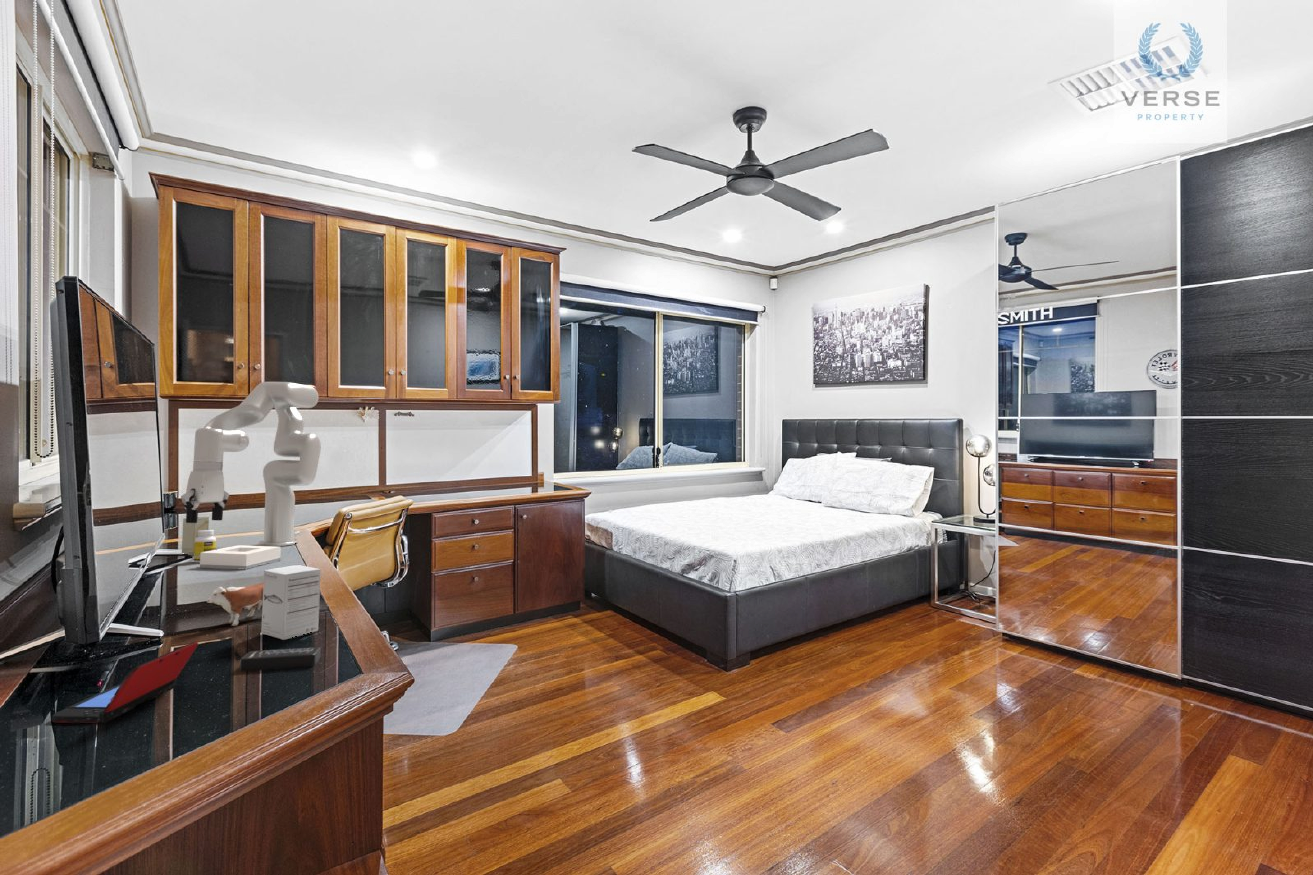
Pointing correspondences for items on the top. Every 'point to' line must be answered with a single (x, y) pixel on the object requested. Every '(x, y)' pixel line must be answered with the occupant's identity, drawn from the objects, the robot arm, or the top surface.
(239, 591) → the bull figurine
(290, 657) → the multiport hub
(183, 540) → the skincare box
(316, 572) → the supplement box
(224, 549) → the sleeve holder
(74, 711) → the handheld game console
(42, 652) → the top surface
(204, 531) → the supplement bottle
